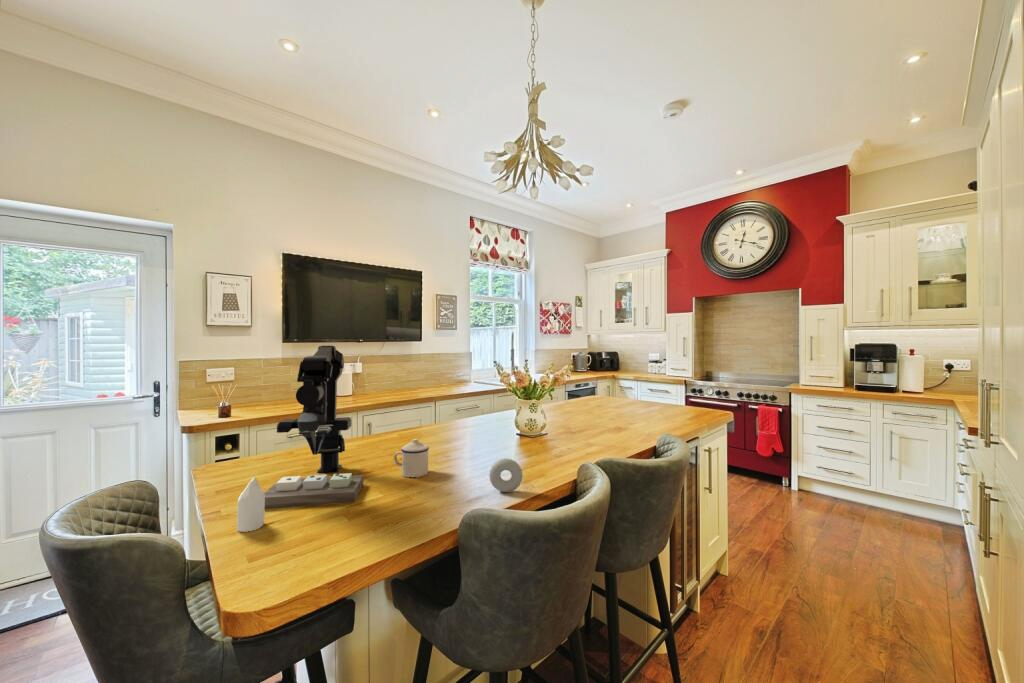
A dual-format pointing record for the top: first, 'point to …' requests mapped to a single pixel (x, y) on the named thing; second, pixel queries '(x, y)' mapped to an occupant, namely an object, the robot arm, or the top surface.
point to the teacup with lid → (413, 459)
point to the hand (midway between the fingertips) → (315, 454)
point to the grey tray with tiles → (313, 495)
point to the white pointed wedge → (251, 507)
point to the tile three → (341, 480)
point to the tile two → (315, 482)
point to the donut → (505, 484)
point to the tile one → (288, 483)
